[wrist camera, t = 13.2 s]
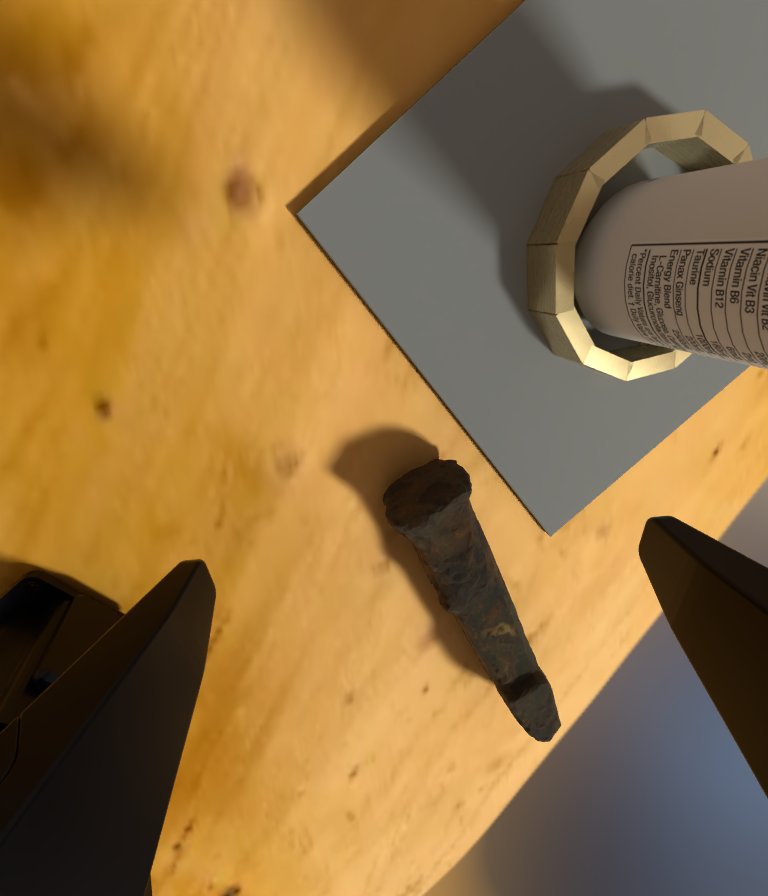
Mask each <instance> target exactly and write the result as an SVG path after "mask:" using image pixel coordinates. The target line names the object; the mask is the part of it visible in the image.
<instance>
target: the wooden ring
mask: <svg viewBox="0 0 768 896" xmlns="http://www.w3.org/2000/svg"><path fill="white" fill-rule="evenodd" d="M652 148H655V149H656V150H657V151H659V152H660V153H662V154H663V155H665V156H666V157H667V158H669V159H670V160H672V161H673V162H675V163H676V164H677V165H679V166H680V167H682V168H683V169H685V170H686V171H687V172H693V171H699V170H704V169H709V168H715V167H720V166H725V165H730V164H736V163H741V162H746V161H752V160H753V158H752V154H751V150H750V146H749V145H748V143H747V142H746V141H745V140H743V139H742V138H741V137H740V136H738V135H737V134H736V133H735V132H733V131H732V130H731V129H730V128H728V127H727V126H726V125H725V124H723V123H722V122H721V121H720V120H718V119H717V118H716V117H715V116H713V115H712V114H711V113H710V112H708V111H707V110H699V111H691V112H684V113H677V114H669V115H662V116H655V117H647V118H644V119H641V120H638V121H635V122H632V123H629V124H627V125H624V126H621V127H618V128H615V129H612V130H609V131H606V132H604V133H603V134H602V135H601V136H600V137H599V138H598V139H597V140H595V141H594V142H593V143H592V144H591V145H590V146H589V147H588V148H587V149H586V150H584V151H583V152H582V153H581V154H580V155H579V156H578V157H577V158H576V159H574V160H573V161H572V162H571V163H570V164H569V165H568V166H567V167H566V168H565V169H563V170H562V171H561V172H560V173H559V174H558V175H557V176H556V177H555V179H554V180H553V182H552V184H551V187H550V189H549V192H548V194H547V196H546V199H545V201H544V204H543V206H542V208H541V211H540V213H539V215H538V218H537V220H536V223H535V225H534V227H533V230H532V232H531V235H530V237H529V239H528V242H527V245H529V246H526V265H527V309H529V310H528V312H529V313H530V315H531V317H532V319H533V320H534V322H535V324H536V325H537V327H538V329H539V330H540V332H541V334H542V336H543V337H544V339H545V341H546V342H547V344H548V346H549V347H550V349H551V351H552V353H553V354H554V355H556V356H559V357H561V358H564V359H566V360H569V361H571V362H574V363H576V364H578V365H581V366H583V367H586V368H588V369H591V370H593V371H596V372H599V373H602V374H605V375H609V376H612V377H615V378H618V379H621V380H624V381H629V380H632V379H636V378H640V377H644V376H648V375H651V374H655V373H659V372H663V371H667V370H671V369H674V368H676V367H677V366H678V365H679V364H681V363H682V362H683V361H684V360H685V359H686V358H687V357H689V356H690V355H691V354H692V353H690V352H685V351H681V350H676V349H671V348H667V347H662V346H657V345H653V344H648V343H643V342H640V343H639V344H636V345H632V346H628V347H624V348H620V349H616V350H612V351H608V352H606V351H604V350H602V349H599V348H597V347H595V345H594V343H593V341H592V339H591V338H590V336H589V334H588V332H587V330H586V328H585V326H584V324H583V322H582V320H581V319H580V317H579V315H578V313H577V311H576V309H575V307H574V267H575V245H576V243H577V241H578V238H579V236H580V234H581V232H582V230H583V227H584V225H585V223H586V221H587V218H588V216H589V214H590V212H591V209H592V207H593V205H594V203H595V201H596V198H597V196H598V194H599V192H600V189H601V187H602V185H603V184H604V183H606V182H607V181H608V180H609V179H610V178H611V177H612V176H613V175H615V174H616V173H617V172H618V171H619V170H620V169H621V168H622V167H623V166H625V165H626V164H627V163H628V162H629V161H630V160H631V159H632V158H633V157H635V156H636V155H637V154H638V153H639V152H640V151H641V150H646V149H652Z"/></svg>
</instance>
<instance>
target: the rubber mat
mask: <svg viewBox="0 0 768 896" xmlns="http://www.w3.org/2000/svg"><path fill="white" fill-rule="evenodd" d="M699 110H707V111H708V112H710V113H711V114H712V115H713V116H715V117H716V118H717V119H718V120H720V121H721V122H722V123H723V124H725V125H726V126H727V127H728V128H730V129H731V130H732V131H733V132H735V133H736V134H737V135H738V136H740V137H741V138H742V139H743V140H745V141H746V142H747V143H748V145H749V146H750V150H751V154H752V158H753V160H757V159H762V158H768V0H525V1H524V2H523V3H522V4H521V5H520V6H519V7H518V8H517V9H516V10H514V11H513V12H512V13H511V14H510V15H509V16H508V17H507V18H506V19H505V20H504V21H503V22H502V23H501V24H499V25H498V26H497V27H496V28H495V29H494V30H493V31H492V32H491V33H490V34H489V35H488V36H487V37H486V38H484V39H483V40H482V41H481V42H480V43H479V44H478V45H477V46H476V47H475V48H474V49H473V50H472V51H471V52H469V53H468V54H467V55H466V56H465V57H464V58H463V59H462V60H461V61H460V62H459V63H458V64H457V65H456V66H455V67H453V68H452V69H451V70H450V71H449V72H448V73H447V74H446V75H445V76H444V77H443V78H442V79H441V80H440V81H438V82H437V83H436V84H435V85H434V86H433V87H432V88H431V89H430V90H429V91H428V92H427V93H426V94H425V95H423V96H422V97H421V98H420V99H419V100H418V101H417V102H416V103H415V104H414V105H413V106H412V107H411V108H410V109H408V110H407V111H406V112H405V113H404V114H403V115H402V116H401V117H400V118H399V119H398V120H397V121H396V122H395V123H394V124H392V125H391V126H390V127H389V128H388V129H387V130H386V131H385V132H384V133H383V134H382V135H381V136H380V137H379V138H377V139H376V140H375V141H374V142H373V143H372V144H371V145H370V146H369V147H368V148H367V149H366V150H365V151H364V152H362V153H361V154H360V155H359V156H358V157H357V158H356V159H355V160H354V161H353V162H352V163H351V164H350V165H349V166H347V167H346V168H345V169H344V170H343V171H342V172H341V173H340V174H339V175H338V176H337V177H336V178H335V179H334V180H332V181H331V182H330V183H329V184H328V185H327V186H326V187H325V188H324V189H323V190H322V191H321V192H320V193H319V194H318V195H316V196H315V197H314V198H313V199H312V200H311V201H310V202H309V203H308V204H307V205H306V206H305V207H304V208H303V209H301V210H300V211H299V212H298V213H297V214H296V215H297V217H298V218H299V219H300V221H301V222H302V223H303V224H304V226H305V227H306V228H307V229H308V231H309V232H310V233H311V235H312V236H313V237H314V238H315V240H316V241H317V242H318V243H319V245H320V246H321V247H322V249H323V250H324V251H325V252H326V254H327V255H328V256H329V257H330V259H331V260H332V261H333V262H334V264H335V265H336V266H337V268H338V269H339V270H340V271H341V273H342V274H343V275H344V276H345V278H346V279H347V280H348V282H349V283H350V284H351V285H352V287H353V288H354V289H355V290H356V292H357V293H358V294H359V295H360V297H361V298H362V299H363V301H364V302H365V303H366V304H367V306H368V307H369V308H370V309H371V311H372V312H373V313H374V315H375V316H376V317H377V318H378V320H379V321H380V322H381V323H382V325H383V326H384V327H385V329H386V330H387V331H388V332H389V334H390V335H391V336H392V337H393V339H394V340H395V341H396V342H397V344H398V345H399V346H400V348H401V349H402V350H403V351H404V353H405V354H406V355H407V356H408V358H409V359H410V360H411V362H412V363H413V364H414V365H415V367H416V368H417V369H418V370H419V372H420V373H421V374H422V375H423V377H424V378H425V379H426V381H427V382H428V383H429V384H430V386H431V387H432V388H433V389H434V391H435V392H436V393H437V395H438V396H439V397H440V398H441V400H442V401H443V402H444V403H445V405H446V406H447V407H448V409H449V410H450V411H451V412H452V414H453V415H454V416H455V417H456V419H457V420H458V421H459V422H460V424H461V425H462V426H463V428H464V429H465V430H466V431H467V433H468V434H469V435H470V436H471V438H472V439H473V440H474V442H475V443H476V444H477V445H478V447H479V448H480V449H481V450H482V452H483V453H484V454H485V456H486V457H487V458H488V459H489V461H490V462H491V463H492V464H493V466H494V467H495V468H496V469H497V471H498V472H499V473H500V475H501V476H502V477H503V478H504V480H505V481H506V482H507V483H508V485H509V486H510V487H511V489H512V490H513V491H514V492H515V494H516V495H517V496H518V497H519V499H520V500H521V501H522V502H523V504H524V505H525V506H526V508H527V509H528V510H529V511H530V513H531V514H532V515H533V516H534V518H535V519H536V520H537V522H538V523H539V524H540V525H541V527H542V528H543V529H544V530H545V532H546V533H547V534H548V535H549V536H550V537H551V536H552V535H553V534H554V533H555V532H557V531H558V530H559V529H560V528H561V527H562V526H564V525H565V524H566V523H567V522H568V521H569V520H571V519H572V518H573V517H574V516H575V515H576V514H578V513H579V512H580V511H581V510H582V509H583V508H585V507H586V506H587V505H588V504H589V503H590V502H592V501H593V500H594V499H595V498H596V497H597V496H599V495H600V494H601V493H602V492H603V491H604V490H606V489H607V488H608V487H609V486H610V485H611V484H613V483H614V482H615V481H616V480H617V479H618V478H620V477H621V476H622V475H623V474H624V473H625V472H627V471H628V470H629V469H630V468H631V467H632V466H634V465H635V464H636V463H637V462H638V461H639V460H641V459H642V458H643V457H644V456H645V455H646V454H648V453H649V452H650V451H651V450H652V449H653V448H655V447H656V446H657V445H658V444H659V443H660V442H662V441H663V440H664V439H665V438H666V437H667V436H669V435H670V434H671V433H672V432H673V431H674V430H676V429H677V428H678V427H679V426H680V425H681V424H683V423H684V422H685V421H686V420H687V419H689V418H690V417H691V416H692V415H693V414H694V413H696V412H697V411H698V410H699V409H700V408H701V407H703V406H704V405H705V404H706V403H707V402H708V401H710V400H711V399H712V398H713V397H714V396H715V395H717V394H718V393H719V392H720V391H721V390H722V389H724V388H725V387H726V386H727V385H728V384H729V383H731V382H732V381H733V380H734V379H735V378H736V377H738V376H739V375H740V374H741V373H742V372H743V371H745V370H746V369H747V368H748V367H749V366H750V365H745V364H741V363H736V362H732V361H727V360H722V359H718V358H713V357H708V356H704V355H699V354H694V353H692V354H691V355H690V356H689V357H687V358H686V359H685V360H684V361H683V362H682V363H681V364H679V365H678V366H677V367H676V368H674V369H671V370H667V371H663V372H659V373H655V374H651V375H648V376H644V377H640V378H636V379H632V380H629V381H624V380H621V379H618V378H615V377H612V376H609V375H605V374H602V373H599V372H596V371H593V370H591V369H588V368H586V367H583V366H581V365H578V364H576V363H574V362H571V361H569V360H566V359H564V358H561V357H559V356H556V355H554V354H553V353H552V351H551V349H550V347H549V346H548V344H547V342H546V341H545V339H544V337H543V336H542V334H541V332H540V330H539V329H538V327H537V325H536V324H535V322H534V320H533V319H532V317H531V315H530V313H529V312H528V310H529V309H527V265H526V246H529V245H527V242H528V239H529V237H530V235H531V232H532V230H533V227H534V225H535V223H536V220H537V218H538V215H539V213H540V211H541V208H542V206H543V204H544V201H545V199H546V196H547V194H548V192H549V189H550V187H551V184H552V182H553V180H554V179H555V177H556V176H557V175H558V174H559V173H560V172H561V171H562V170H563V169H565V168H566V167H567V166H568V165H569V164H570V163H571V162H572V161H573V160H574V159H576V158H577V157H578V156H579V155H580V154H581V153H582V152H583V151H584V150H586V149H587V148H588V147H589V146H590V145H591V144H592V143H593V142H594V141H595V140H597V139H598V138H599V137H600V136H601V135H602V134H603V133H604V132H606V131H609V130H612V129H615V128H618V127H621V126H624V125H627V124H629V123H632V122H635V121H638V120H641V119H644V118H647V117H655V116H662V115H669V114H677V113H684V112H691V111H699ZM683 173H688V172H687V171H686V170H685V169H683V168H682V167H680V166H679V165H677V164H676V163H675V162H673V161H672V160H670V159H669V158H667V157H666V156H665V155H663V154H662V153H660V152H659V151H657V150H656V149H655V148H652V149H646V150H641V151H640V152H639V153H638V154H637V155H636V156H635V157H633V158H632V159H631V160H630V161H629V162H628V163H627V164H626V165H625V166H623V167H622V168H621V169H620V170H619V171H618V172H617V173H616V174H615V175H613V176H612V177H611V178H610V179H609V180H608V181H607V182H606V183H604V184H603V185H602V187H601V189H600V192H599V194H598V196H597V198H596V201H595V203H594V205H593V207H592V209H591V212H590V214H589V216H588V218H587V221H586V223H585V225H584V227H583V230H582V232H581V234H582V233H583V231H584V229H585V227H586V226H587V225H588V224H589V222H590V221H591V220H592V218H593V217H594V216H595V214H596V213H597V212H598V211H599V209H600V208H601V207H602V205H603V204H604V203H605V202H607V201H608V200H609V199H610V198H611V197H612V196H613V195H614V194H616V193H617V192H619V191H620V190H622V189H624V188H625V187H627V186H629V185H632V184H635V183H637V182H640V181H646V180H651V179H656V178H662V177H667V176H672V175H677V174H683ZM581 234H580V236H581ZM580 236H579V238H580ZM579 238H578V240H579ZM577 243H578V241H577ZM577 243H576V245H577ZM576 245H575V248H576ZM574 307H575V309H576V311H577V313H578V315H579V317H580V319H581V320H582V322H583V324H584V326H585V328H586V330H587V332H588V334H589V336H590V338H591V339H592V341H593V343H594V345H595V347H597V348H599V349H602V350H604V351H606V352H608V351H612V350H616V349H620V348H624V347H628V346H632V345H636V344H639V343H640V342H639V341H634V340H629V339H625V338H620V337H616V336H611V335H608V334H605V333H602V332H601V331H599V330H597V329H596V328H594V327H593V326H592V325H591V324H590V323H589V322H588V321H587V319H586V318H585V317H584V315H583V313H582V311H581V309H580V307H579V304H578V302H577V300H576V298H575V296H574Z"/></svg>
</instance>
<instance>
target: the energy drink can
mask: <svg viewBox="0 0 768 896" xmlns="http://www.w3.org/2000/svg"><path fill="white" fill-rule="evenodd" d="M574 296H575V298H576V300H577V302H578V304H579V307H580V309H581V311H582V313H583V315H584V317H585V318H586V319H587V321H588V322H589V323H590V324H591V325H592V326H593V327H594V328H596V329H597V330H599V331H601V332H602V333H605V334H608V335H611V336H616V337H620V338H625V339H629V340H634V341H639V342H643V343H648V344H653V345H657V346H662V347H667V348H671V349H676V350H681V351H685V352H690V353H694V354H699V355H704V356H708V357H713V358H718V359H722V360H727V361H732V362H736V363H741V364H745V365H750V366H755V367H759V368H764V369H768V158H762V159H757V160H752V161H746V162H741V163H736V164H730V165H725V166H720V167H715V168H709V169H704V170H699V171H693V172H688V173H683V174H677V175H672V176H667V177H662V178H656V179H651V180H646V181H640V182H637V183H635V184H632V185H629V186H627V187H625V188H624V189H622V190H620V191H619V192H617V193H616V194H614V195H613V196H612V197H611V198H610V199H609V200H608V201H607V202H605V203H604V204H603V205H602V207H601V208H600V209H599V211H598V212H597V213H596V214H595V216H594V217H593V218H592V220H591V221H590V222H589V224H588V225H587V226H586V227H585V229H584V231H583V233H582V234H581V236H580V238H579V240H578V243H577V245H576V248H575V267H574Z"/></svg>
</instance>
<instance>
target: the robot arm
mask: <svg viewBox="0 0 768 896" xmlns="http://www.w3.org/2000/svg"><path fill="white" fill-rule="evenodd" d="M639 556H640V559H641V561H642V564H643V566H644V568H645V571H646V573H647V575H648V577H649V580H650V582H651V584H652V587H653V589H654V591H655V593H656V596H657V598H658V600H659V602H660V605H661V607H662V609H663V612H664V614H665V616H666V618H667V620H668V622H669V624H670V627H671V629H672V630H673V632H674V634H675V636H676V638H677V640H678V641H679V643H680V645H681V647H682V648H683V650H684V652H685V654H686V655H687V657H688V659H689V661H690V662H691V664H692V666H693V668H694V670H695V671H696V673H697V675H698V677H699V678H700V680H701V682H702V684H703V685H704V687H705V689H706V691H707V692H708V694H709V696H710V698H711V699H712V701H713V703H714V705H715V706H716V708H717V710H718V712H719V714H720V715H721V717H722V719H723V720H724V722H725V724H726V726H727V727H728V729H729V731H730V733H731V735H732V736H733V738H734V740H735V742H736V743H737V745H738V747H739V749H740V750H741V752H742V754H743V756H744V757H745V759H746V761H747V763H748V765H749V766H750V768H751V770H752V772H753V773H754V775H755V777H756V778H757V780H758V782H759V784H760V786H761V787H762V789H763V790H764V793H765V794H766V796H767V798H768V568H767V567H765V566H763V565H761V564H759V563H758V562H756V561H754V560H752V559H750V558H748V557H746V556H745V555H743V554H741V553H739V552H737V551H736V550H734V549H732V548H730V547H728V546H726V545H724V544H723V543H721V542H719V541H717V540H715V539H713V538H711V537H710V536H708V535H706V534H704V533H702V532H700V531H699V530H697V529H695V528H693V527H691V526H689V525H687V524H686V523H684V522H682V521H680V520H678V519H676V518H674V517H672V516H660V517H651V518H649V519H648V520H647V522H646V524H645V528H644V531H643V534H642V537H641V540H640V544H639ZM29 582H35V583H37V584H39V585H40V586H33V585H31V584H30V583H29ZM215 599H216V589H215V585H214V582H213V580H212V578H211V575H210V573H209V570H208V568H207V566H206V564H205V562H204V561H203V560H201V559H196V560H185V561H182V562H180V563H179V564H178V565H177V566H176V567H175V568H173V569H172V570H171V571H170V572H169V573H168V574H167V575H166V576H165V577H164V578H163V579H162V580H161V581H160V582H159V583H158V584H157V585H156V586H155V587H153V588H152V589H151V590H150V591H149V592H148V593H147V594H146V595H145V596H144V597H143V598H142V599H141V600H140V601H139V602H138V603H137V604H136V605H135V606H133V607H132V608H131V609H130V610H129V611H128V612H127V613H126V614H125V615H124V616H122V615H120V614H119V613H117V612H115V611H113V610H111V609H110V608H108V607H106V606H104V605H102V604H101V603H99V602H97V601H95V600H93V599H92V598H90V597H88V596H86V595H84V594H82V593H81V592H79V591H77V590H75V589H73V588H72V587H70V586H68V585H66V584H64V583H63V582H61V581H59V580H57V579H55V578H54V577H52V576H50V575H48V574H46V573H44V572H41V571H31V572H28V573H26V574H25V575H23V576H22V577H21V578H20V579H19V580H18V581H17V582H16V583H15V584H14V585H13V586H11V587H10V588H9V589H8V590H7V591H6V592H5V593H4V594H3V595H2V596H1V597H0V896H152V887H151V875H150V873H151V869H152V865H153V861H154V858H155V854H156V850H157V846H158V843H159V839H160V835H161V832H162V828H163V824H164V820H165V817H166V813H167V809H168V805H169V802H170V798H171V794H172V790H173V787H174V783H175V779H176V775H177V772H178V768H179V764H180V760H181V757H182V753H183V749H184V745H185V742H186V738H187V734H188V731H189V727H190V723H191V719H192V716H193V712H194V708H195V704H196V701H197V697H198V693H199V689H200V686H201V682H202V678H203V673H204V669H205V663H206V658H207V651H208V645H209V638H210V632H211V625H212V619H213V612H214V606H215Z"/></svg>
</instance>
